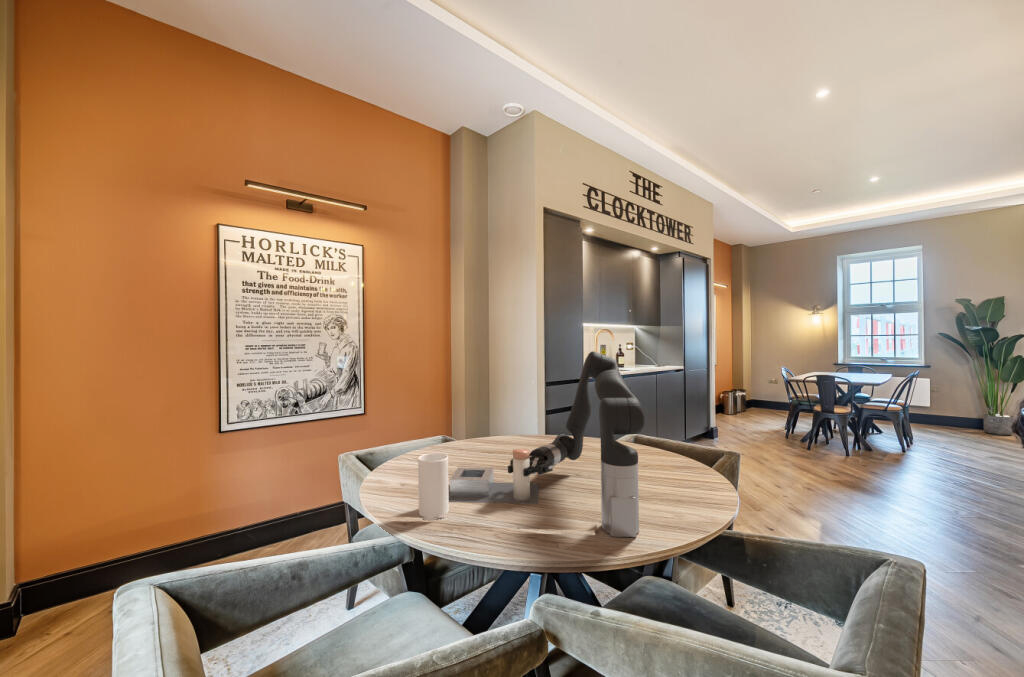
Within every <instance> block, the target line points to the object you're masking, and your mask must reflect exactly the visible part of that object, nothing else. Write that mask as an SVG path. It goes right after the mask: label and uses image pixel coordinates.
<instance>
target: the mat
mask: <svg viewBox="0 0 1024 677" xmlns="http://www.w3.org/2000/svg"><path fill="white" fill-rule="evenodd" d="M539 487H540V482H530V499H528V500H524V501H520V500H516V499H514V496H513V482H495V481H494V484H493V487H492V489H491V492H490V495H489V497H477V496H450V491H449V503H472V504H473V503H477V504H478V503H479V504H482V503H483V504H487V503H488V504H523V505H525V504H527V505H538V504H539V492H540V491H539V490H540V488H539Z"/></svg>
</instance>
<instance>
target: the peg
mask: <svg viewBox="0 0 1024 677" xmlns="http://www.w3.org/2000/svg"><path fill="white" fill-rule="evenodd" d="M529 454H530V449H528V448H527V449H526V448H516V449H513V450H512V459H513V472H512V483H513V496H514V499H516V500H520V501H524V500H528V499H530V483H531V481H530V480H531V474H530V475H529V476H527V477H525V476H524V475H523V470H524V469H525V468H527V467H529V466H530V460H529Z"/></svg>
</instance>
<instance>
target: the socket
mask: <svg viewBox="0 0 1024 677" xmlns="http://www.w3.org/2000/svg"><path fill="white" fill-rule="evenodd" d="M494 469H495V468H494V467H461V466H460V467H457V468H456V470H455V471H454V472H453V474H452V476H451V477H450V478H449V492H450V496H477V497H489V495H490V492H491V489H492V487H493V484H494V482H495V481H494V480H495V478H494V477H495V476H494V472H495V471H494Z"/></svg>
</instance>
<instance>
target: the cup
mask: <svg viewBox="0 0 1024 677" xmlns="http://www.w3.org/2000/svg"><path fill="white" fill-rule="evenodd" d="M417 460H418V461H417V463H418V465H417V467H418V468H417V471H418V473H417V474H418V475H417V476H418V478H417V480H418V485H417V486H418V487H417V488H418V514H419V515H420V516H419V517H420V518H422V519H424V520H423V521H426V520H436V521H440V520H443V519H442V518H443V517H442V516H444V515H446V514H447V513H449V510H450V508H449V505H450V504H449V503H450V502H449V492H450V490H449V455H448V454H446V453H443V452H442V453H441V452H439V453H438V452H434V453H433V452H432V453H425V454H422V455H420V456H418V458H417ZM420 518H419V519H420ZM422 519H421V520H422ZM439 519H440V520H439Z"/></svg>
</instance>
